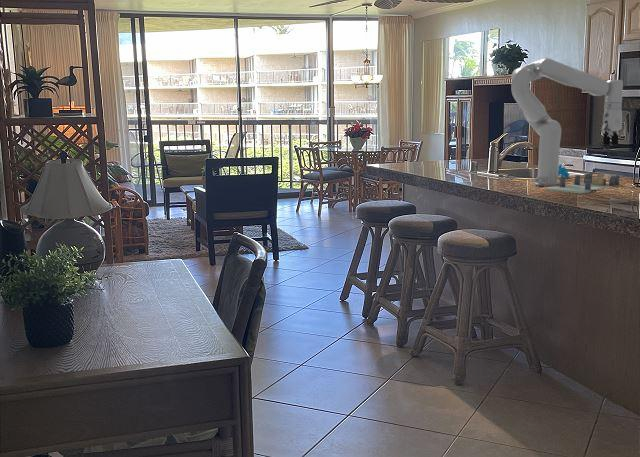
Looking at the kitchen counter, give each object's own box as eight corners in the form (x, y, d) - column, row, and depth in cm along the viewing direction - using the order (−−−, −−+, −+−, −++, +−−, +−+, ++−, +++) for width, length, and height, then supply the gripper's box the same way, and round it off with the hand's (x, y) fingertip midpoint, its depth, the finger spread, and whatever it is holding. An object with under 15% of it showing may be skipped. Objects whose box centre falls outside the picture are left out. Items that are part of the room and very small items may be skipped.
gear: (561, 176, 355) (551, 161, 360) (553, 183, 358) (544, 169, 364) (574, 177, 361) (565, 163, 366) (566, 184, 365) (557, 170, 370)
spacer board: (580, 193, 303) (581, 181, 302) (545, 189, 317) (546, 178, 316) (621, 186, 323) (622, 175, 322) (586, 183, 337) (587, 172, 336)
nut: (602, 185, 321) (602, 178, 320) (588, 184, 326) (589, 177, 326) (609, 184, 325) (609, 177, 324) (595, 183, 330) (596, 176, 329)
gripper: (610, 106, 315) (607, 145, 319) (630, 106, 326) (627, 143, 329) (595, 106, 321) (593, 145, 325) (615, 106, 331) (612, 143, 335)
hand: (610, 144), depth 327 cm, fingers open, 6 cm apart
